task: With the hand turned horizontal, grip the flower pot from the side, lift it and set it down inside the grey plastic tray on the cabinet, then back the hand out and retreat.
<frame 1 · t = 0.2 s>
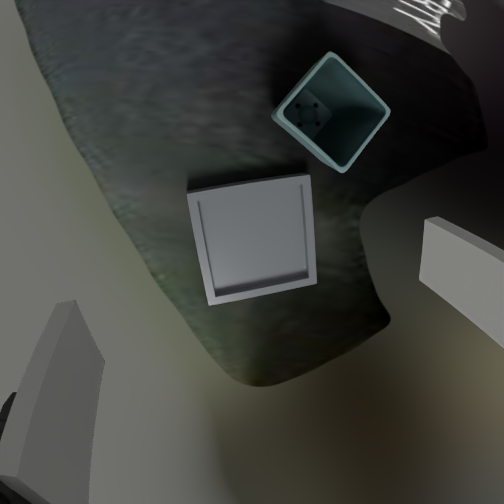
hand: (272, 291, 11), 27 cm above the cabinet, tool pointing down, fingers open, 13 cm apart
plant tray: (254, 237, 39), on the cabinet
flower pot: (305, 114, 35), on the cabinet
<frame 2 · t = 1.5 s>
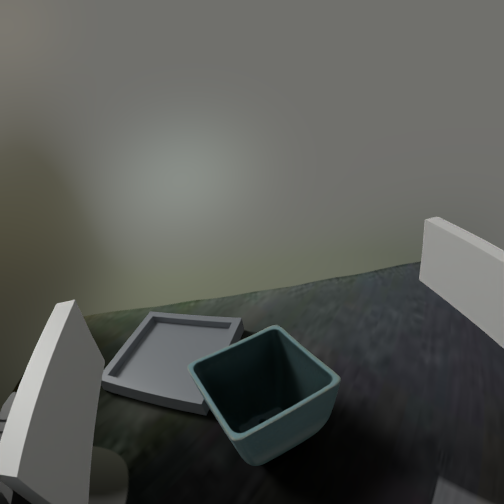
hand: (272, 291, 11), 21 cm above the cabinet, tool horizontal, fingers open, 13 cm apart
plant tray: (174, 361, 37), on the cabinet
flower pot: (272, 434, 26), on the cabinet
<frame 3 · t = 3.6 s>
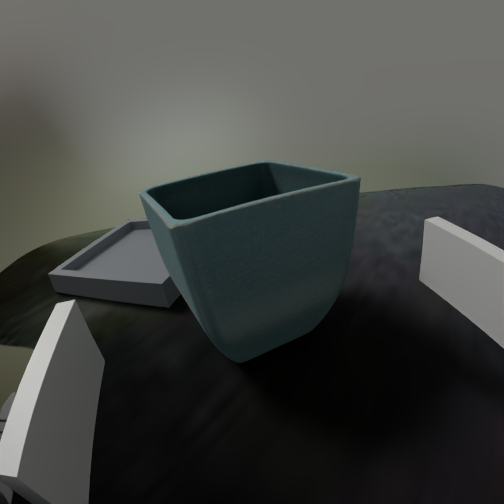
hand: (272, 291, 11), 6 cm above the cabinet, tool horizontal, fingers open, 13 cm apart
plant tray: (145, 260, 31), on the cabinet
flower pot: (259, 328, 19), on the cabinet
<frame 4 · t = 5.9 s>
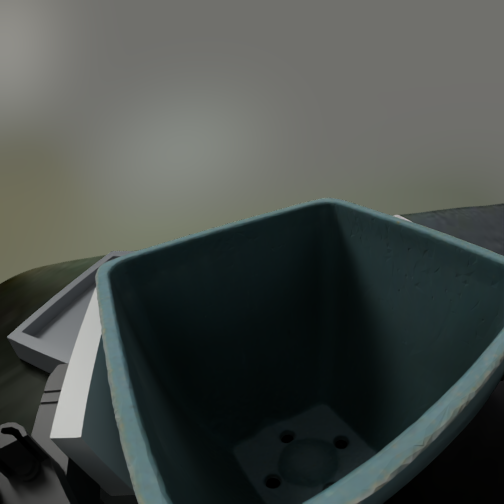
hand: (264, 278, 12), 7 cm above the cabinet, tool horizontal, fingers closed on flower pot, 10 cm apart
plant tray: (131, 319, 22), on the cabinet
flower pot: (309, 466, 11), on the cabinet, touching gripper
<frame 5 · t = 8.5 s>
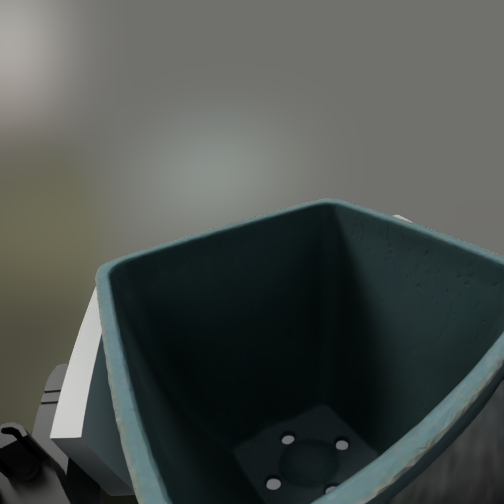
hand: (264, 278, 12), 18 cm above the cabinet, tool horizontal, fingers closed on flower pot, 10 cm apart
plant tray: (274, 482, 19), on the cabinet
flower pot: (310, 467, 11), point 11 cm above the cabinet, touching gripper
when the fingers open (9 cm above the cabinet, at t = 11.1 s): flower pot drops 1 cm, resting on plant tray.
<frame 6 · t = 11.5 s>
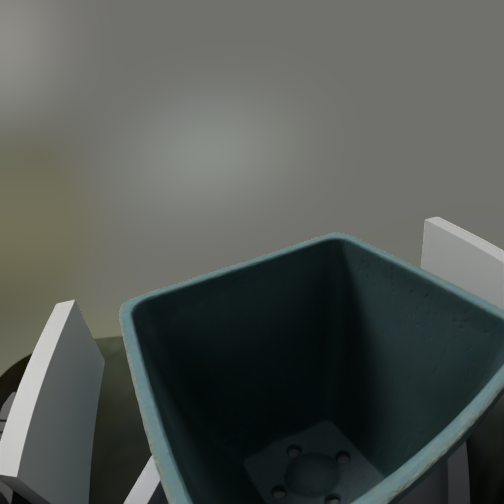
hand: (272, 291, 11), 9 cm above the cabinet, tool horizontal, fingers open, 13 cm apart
plant tray: (309, 484, 12), on the cabinet
flower pot: (313, 478, 11), point 1 cm above the cabinet, touching plant tray
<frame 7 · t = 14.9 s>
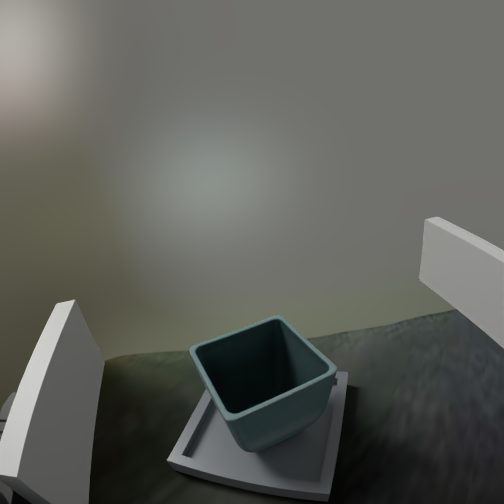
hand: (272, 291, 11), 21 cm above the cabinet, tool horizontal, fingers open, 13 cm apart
plant tray: (267, 429, 27), on the cabinet
flower pot: (268, 424, 27), point 1 cm above the cabinet, touching plant tray
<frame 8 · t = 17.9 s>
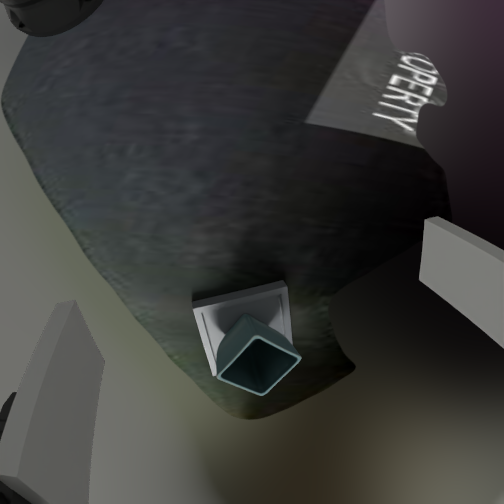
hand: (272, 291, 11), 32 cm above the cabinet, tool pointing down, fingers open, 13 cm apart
plant tray: (245, 327, 50), on the cabinet
flower pot: (245, 329, 49), point 1 cm above the cabinet, touching plant tray
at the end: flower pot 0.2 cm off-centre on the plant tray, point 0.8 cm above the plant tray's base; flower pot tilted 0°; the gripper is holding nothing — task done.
